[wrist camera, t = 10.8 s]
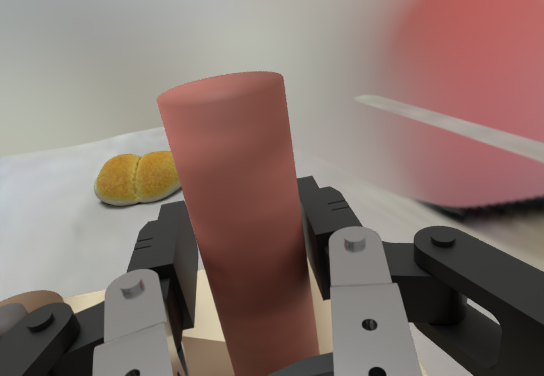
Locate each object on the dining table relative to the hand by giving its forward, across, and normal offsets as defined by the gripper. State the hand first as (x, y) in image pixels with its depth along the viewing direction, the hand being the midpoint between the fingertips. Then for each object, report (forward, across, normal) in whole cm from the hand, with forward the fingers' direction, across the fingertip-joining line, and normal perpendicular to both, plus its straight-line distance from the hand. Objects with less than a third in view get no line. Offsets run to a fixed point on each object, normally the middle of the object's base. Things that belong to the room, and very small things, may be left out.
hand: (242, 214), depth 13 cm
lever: (+1, +6, +7) cm, 10 cm away
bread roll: (+26, +10, +10) cm, 30 cm away
